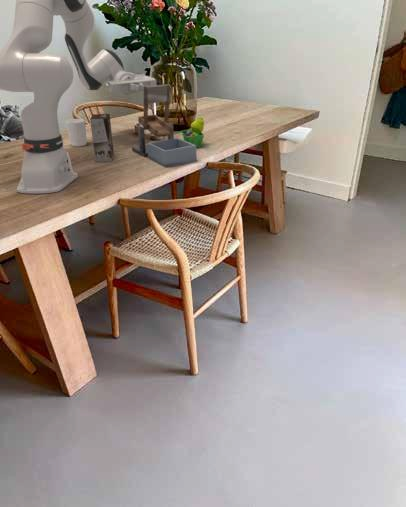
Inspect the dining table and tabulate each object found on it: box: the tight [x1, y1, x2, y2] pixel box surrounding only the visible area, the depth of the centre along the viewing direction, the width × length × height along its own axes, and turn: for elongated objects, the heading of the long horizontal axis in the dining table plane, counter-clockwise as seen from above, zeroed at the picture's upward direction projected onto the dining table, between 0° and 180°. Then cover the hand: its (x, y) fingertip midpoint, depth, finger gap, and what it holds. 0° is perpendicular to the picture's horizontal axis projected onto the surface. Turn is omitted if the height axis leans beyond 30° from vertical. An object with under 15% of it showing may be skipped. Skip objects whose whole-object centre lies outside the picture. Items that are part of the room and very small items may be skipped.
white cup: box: [65, 118, 88, 147], centre depth 182 cm, size 8×8×10 cm
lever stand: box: [131, 122, 175, 158], centre depth 172 cm, size 11×15×11 cm
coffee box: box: [89, 113, 115, 163], centre depth 162 cm, size 9×6×16 cm
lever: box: [137, 83, 174, 138], centre depth 164 cm, size 15×10×17 cm
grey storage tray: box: [146, 137, 198, 168], centre depth 163 cm, size 14×14×6 cm
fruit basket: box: [181, 116, 205, 148], centre depth 180 cm, size 11×9×11 cm
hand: (140, 87), depth 170 cm, fingers closed
